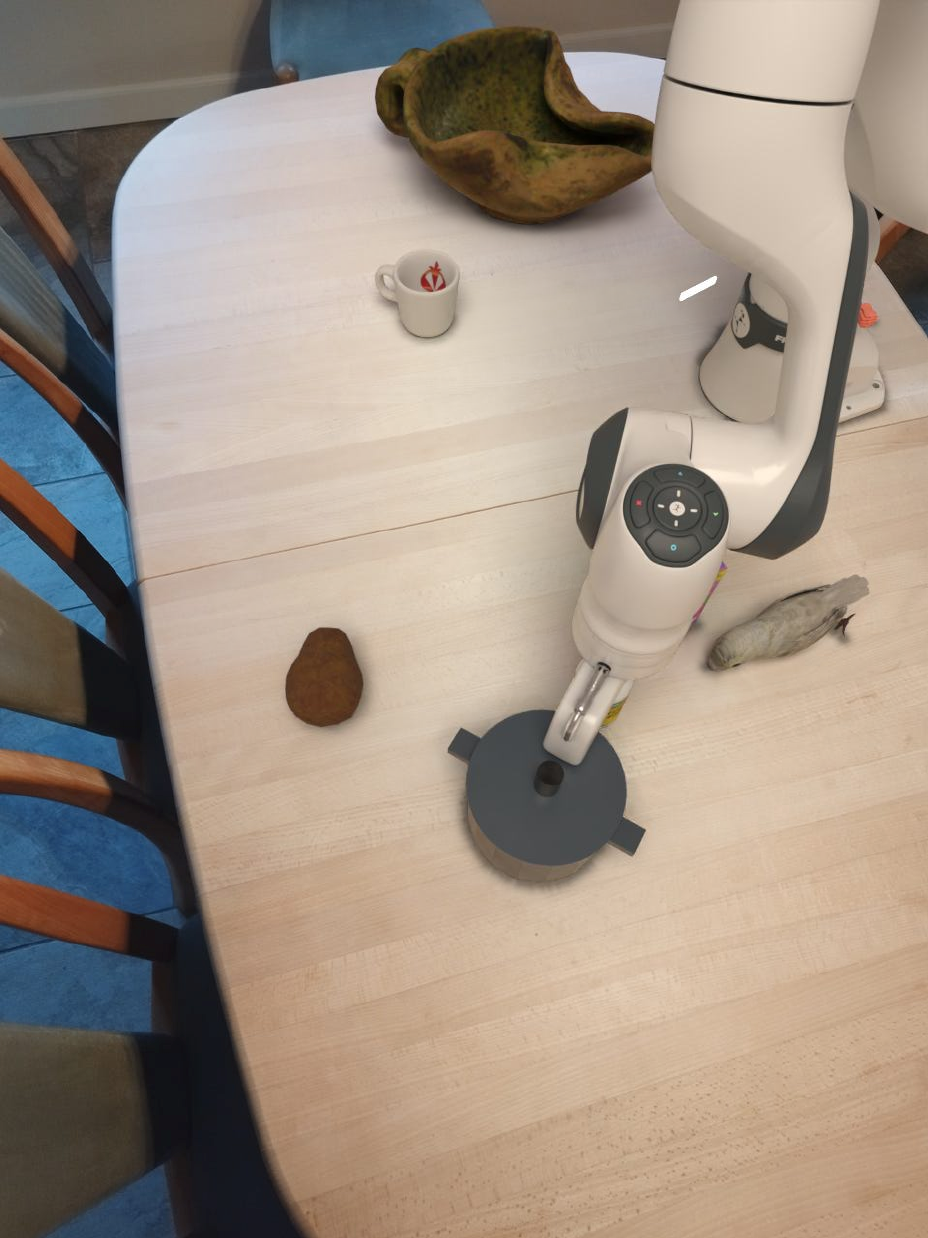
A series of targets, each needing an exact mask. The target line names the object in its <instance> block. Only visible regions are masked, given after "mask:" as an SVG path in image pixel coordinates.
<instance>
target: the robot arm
mask: <svg viewBox="0 0 928 1238" xmlns="http://www.w3.org/2000/svg"><path fill="white" fill-rule="evenodd" d="M662 72H663V74H662V77H661V81H660V87H659V91H658V97H657V103H656V110H655V117H654V118H655V119H654V124H655V125H654V133H653V144H652V159H651V168H652V171H651V174H652V177H653V181H654V184H655V188H656V190H657V193H658V195H659V197H660V199H661V201H662V203H663V204H664V207H666V209H667V211H668V212H669V213H670V215H671V217H673V219H674V220H675V221H676V222H677V223H678V224H679V225H680V226H681V228H683V229H684V230H685V231H686V232H687V234H689V235H690V236H691V237H692V238H694V239H695V240H696V241H697V242H699V243H700V244H701V245H702V246H704V247H705V248H707V249H709V250H710V251H712V252H713V253H715V254H716V255H718V256H720V257H721V258H723V259H725V260H727V261H728V262H730V263H732V264H734V265H735V266H737V267H739V268H740V269H742V270H744V271H746V272H748V273H747V275H746V277H745V279H744V281H743V284H742V286H741V288H740V291H739V293H738V295H737V298H736V301H735V304H734V308H733V311H732V316H731V318H730V320H729V322H728V323H727V325H726V326H725V327H724V329H723V332H722V333H721V335H720V337H719V338H718V339H717V342H716V343H715V344H714V346H713V347H712V349H711V350H709V352H708V353H707V355H706V356H705V357H704V359H703V360H702V362H701V365H700V368H699V383H700V387H701V389H702V391H703V393H704V395H705V396H706V398H707V400H708V401H709V402H710V403H711V404H712V405H713V406H714V407H715V408H716V409H717V410H718V411H719V412H721V413H722V414H723V415H725V416H726V417H729V418H730V419H732V420H726V419H718V418H712V417H706V416H705V417H704V416H698V415H697V416H696V415H690V414H688V413H684V412H683V413H682V412H675V411H669V410H659V409H653V408H652V409H651V408H643V407H641V408H640V407H624V408H622V409H620V410H618V411H617V412H615V413H614V414H613V415H611V416H610V417H609V418H607V419H606V420H605V421H604V422H603V423H601V425H600V426H598V428H596V429H595V430H594V431H593V433H592V435H591V438H590V441H589V445H588V450H587V455H586V461H585V465H584V468H583V472H582V476H581V479H580V482H579V486H578V490H577V495H576V496H577V497H576V503H575V521H576V525H577V527H578V530H579V532H580V534H581V537H582V539H583V540H584V542H585V544H586V546H587V547H588V549H590V551H592V553H591V556H590V561H589V566H588V575H587V576H586V578H585V580H584V582H583V584H582V587H581V589H580V593H579V597H578V599H577V603H576V606H575V610H574V613H573V616H572V620H571V621H572V622H571V633H572V637H573V638H572V639H573V641H574V644H575V647H576V649H577V650H578V652H579V654H580V655H581V656H582V658H584V661H583V663H582V664H581V666H580V668H579V670H578V671H577V673H576V675H575V674H574V675H575V677H574V676H573V678H572V680H571V682H570V683H569V685H568V687H567V689H566V690H565V692H564V694H563V697H562V698H561V700H560V701H559V704H558V706H557V707H556V709H555V711H556V712H555V714H554V716H553V719H552V721H551V724H550V726H549V729H548V731H547V734H546V736H545V739H544V742H543V746H544V748H545V749H546V750H547V751H548V752H550V753H551V754H553V755H554V756H556V757H558V758H560V759H561V760H563V761H565V762H568V763H570V764H572V765H578V764H580V763H581V762H582V760H583V759H584V757H585V755H586V754H587V752H588V750H589V748H590V746H591V744H592V742H593V741H594V739H595V737H596V735H597V733H598V731H599V732H600V729H602V728H601V726H602V724H603V722H604V720H605V718H606V716H607V715H608V713H609V711H610V709H611V707H612V705H613V703H614V702H615V700H616V698H617V696H618V694H619V692H620V690H621V689H622V687H623V685H624V683H625V681H626V679H633V680H639V679H641V680H642V679H644V678H649V677H651V676H653V675H655V674H658V673H659V672H661V671H662V670H663V669H665V667H667V666H668V665H669V663H670V662H671V661H672V659H673V658H674V656H675V654H676V653H677V651H678V649H679V647H680V645H681V644H682V642H683V640H684V638H685V637H686V636H687V633H688V631H689V630H690V627H691V626H690V625H691V622H692V619H693V615H695V614H696V613H697V611H698V610H699V609H700V608H701V606H702V605H703V603H704V601H705V600H706V598H707V596H708V594H709V592H710V590H711V588H712V586H713V584H714V582H715V579H716V577H717V574H718V572H719V569H720V567H721V564H722V561H723V560H724V557H725V555H726V554H725V553H726V550H727V549H728V550H729V551H730V552H736V553H739V554H744V555H749V556H753V557H757V558H762V559H766V560H770V561H774V560H778V559H780V558H782V557H783V556H786V555H788V554H790V553H791V552H793V551H795V550H797V549H799V548H801V547H802V546H803V545H805V544H806V543H807V542H809V541H810V540H811V539H813V538H814V537H815V536H816V535H817V534H818V533H819V531H820V530H821V528H822V525H823V523H824V520H825V517H826V513H827V511H828V506H829V502H830V497H831V496H830V495H831V483H832V473H833V465H834V463H833V462H834V457H835V456H834V455H835V446H836V439H837V433H838V427H839V424H840V423H844V422H846V421H848V420H852V419H855V418H857V417H860V416H862V415H866V414H868V413H870V412H874V411H876V410H878V409H880V408H881V407H882V406H883V403H884V401H885V395H886V390H885V383H884V380H883V377H882V374H881V372H880V369H879V365H880V352H879V348H878V345H877V343H876V340H875V338H874V336H873V334H872V332H871V330H870V329H869V328H870V327H872V325H874V324H875V323H876V322H877V321H878V319H879V316H878V314H877V312H876V311H875V310H874V309H873V307H872V304H871V303H869V302H865V303H863V302H862V300H863V295H864V289H865V282H866V277H867V275H868V274H869V272H870V270H871V268H872V266H873V264H874V262H875V261H876V258H877V256H878V253H879V249H880V242H881V227H880V223H879V218H878V215H877V213H876V210H877V211H878V212H879V213H881V214H882V215H883V216H884V217H887V218H889V219H892V220H894V221H896V222H898V223H900V224H902V225H904V226H907V227H909V228H912V229H914V230H916V231H919V232H921V233H923V234H926V235H928V0H679V3H678V7H677V12H676V16H675V19H674V23H673V28H672V31H671V34H670V38H669V44H668V48H667V53H666V58H665V62H664V67H663V71H662ZM717 279H718V277H717V276H716V275H715V276H712V277H710V278H709V279H707V280H705V281H703V282H700V283H699V284H697V285H695V286H693V287H691V288H689V289H687V290H684V291H683V292H681V293H680V296H679V301H681V302H682V301H684V300H686V299H687V298H690V297H692V296H694V295H697V293H699V292H701V291H704V290H706V289H707V288H709V287H711V286H713V285H715V284H716V282H717Z"/></svg>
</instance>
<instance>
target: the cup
mask: <svg viewBox="0 0 928 1238" xmlns="http://www.w3.org/2000/svg"><path fill="white" fill-rule="evenodd" d="M374 274H375V275H374V281H375V282H374V283H375V286H376V289H377V291H378V293H379V294H380V295H381V296H382V297H383V298H385V299H387V300H389V301H392V302H395V303H397V306H398V310H399V311H398V313H399V316H400V320H401V323H402V324H403V327H404V328H405V329H406V330H407V331H408V332H410V334H413V335H415V336H418V337H420V338H433V337H437V336H440V335H443V334H444V333H445V332H446V331H448V329H450V326H451V324H452V323H453V320H454V315H455V310H456V303H457V297H458V290H459V285H460V284H459V283H460V279H461V278H460V277H461V273H460V268H459V266H458V264H457V262H456V261H455V259H453V258H452V257H451V256H449V255H448V254H447V253H444V252H442V251H439V250H436V249H429V248H428V249H427V248H425V249H417V250H413V251H410V252H408V253H405V254H404V255H402V256H401V257H400V258H398V260H397V261H396V263H395V264H388V263H386V264H382V265H380V266H379V267H378V268H377V270H376V272H375V273H374ZM384 276H387V277H389V278H390V279H391V280H392V282H393V284H394V288H395V289H394V290H393V289H390V288H389V287H388V286H387V285H386V283H385V280H384Z"/></svg>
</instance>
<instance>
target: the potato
mask: <svg viewBox="0 0 928 1238" xmlns="http://www.w3.org/2000/svg"><path fill="white" fill-rule="evenodd" d="M355 655H356V654H355V651H354V647H353V645H352V643H351V640H350V638H349V636H348V635H347V633H346V632H345V631H344V630H342V629H341V628H338V627H329V626H327V627H325V626H324V627H318V628H316V629H313V630H312V631H310V632H308V634H307V636H306V638H305V639H304V641H303V643H302V645H301V648H300V650H299V652H298V654H297V656H296V657H295V659H294V660H293V661H292V663H291V664H290V666H289V668H288V671H287V674H286V677H285V686H284V687H285V688H284V690H285V691H284V692H285V699H286V704H287V706H288V708H289V710H290V711H291V713H292V714H293V715H294V716H295V717H296V718H297V719H299V720H300V721H302V722H304V723H305V724H307V725H311V726H314V727H318V728H325V727H332V726H337V725H340V724H341V723H343V722H345V721H347V720H349V719H350V718H352V716H353V715H354V713H355V712H356V710H357V709H358V707H359V705H360V702H361V698H362V695H363V689H364V678H363V673H362V671H361V668H360V666H359V663H358V661H357V660H358V659H357V658H356V656H355Z"/></svg>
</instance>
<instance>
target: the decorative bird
mask: <svg viewBox="0 0 928 1238" xmlns="http://www.w3.org/2000/svg"><path fill="white" fill-rule="evenodd" d="M869 585H870V584H869V580H868V579H867V578H866V577H865V576H860V575H859V574H853V575H851V576H849V577H843V578H840V579H839V580H837V581H836V582H834V583H832V584H828V583H827V584H823V585H820V586H815V587H809V588H804V589H801V590H798V591H795V592H792V593H789V594H787V595H785V596H782V597H780V598H779V599H776V600H775V601H774V602H772V603H771V604H769V605H768V606H767V607H766V608H764V609H763V610H762V611H761V612H760V613H759V614H757V616H756V617H755V618H753V619H752V620H750V621H747V622H745V623H742V624H739V625H736V626H735V627H732V628H731V629H729V630H727V631H726V632H725V633H723V634H721V636H720V637H718V638H717V640H716V642H715V643H714V644H713V647H712V649H711V651H710V654H709V657H708V668H709V670H711V671H715V672H722V671H725V670H729V669H731V668H736V667H740V666H742V665H744V664H746V663H749V662H750V661H752V660H755V659H756V660H757V659H767V658H786V657H790V656H793V655H797V654H798V653H800V652H802V651H804V650H806V649H808V648H810V647H811V646H812V645H814V644H816V643H817V642H819V641H820V640H821V639H822V638H824V637H825V636H826V635H828V633H830V631H832V629H834V631H837V630H839V629H840V628H841V627H842V628H841V632H842V633H841V634H842V635H843V636H844V637H845V636H846V635H845V633H846V628H847V626H848V625H849V621H851V619H852V618H853V617H854V616H856V614H857V613H852V614H850V615H849V616H847V617H845V615H846V614H847V612H848V606H849V605H852V604H854V603H857V602H859V601H860V600H861V599H862V598H864V597H866V596H868V595H869V594H870V588H869V587H868V586H869ZM835 626H836V627H835Z"/></svg>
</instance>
